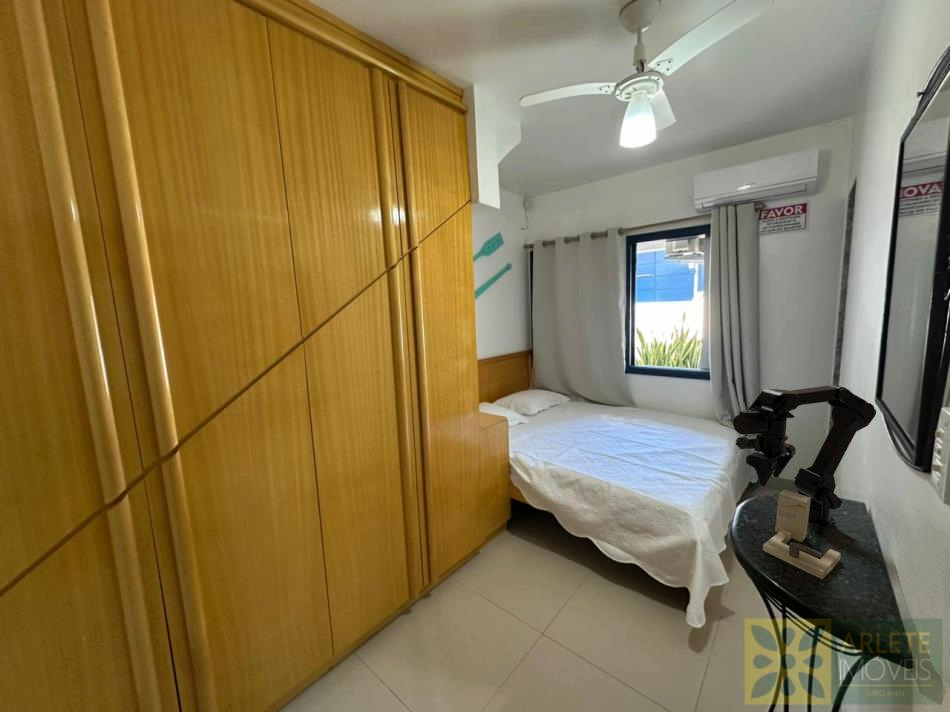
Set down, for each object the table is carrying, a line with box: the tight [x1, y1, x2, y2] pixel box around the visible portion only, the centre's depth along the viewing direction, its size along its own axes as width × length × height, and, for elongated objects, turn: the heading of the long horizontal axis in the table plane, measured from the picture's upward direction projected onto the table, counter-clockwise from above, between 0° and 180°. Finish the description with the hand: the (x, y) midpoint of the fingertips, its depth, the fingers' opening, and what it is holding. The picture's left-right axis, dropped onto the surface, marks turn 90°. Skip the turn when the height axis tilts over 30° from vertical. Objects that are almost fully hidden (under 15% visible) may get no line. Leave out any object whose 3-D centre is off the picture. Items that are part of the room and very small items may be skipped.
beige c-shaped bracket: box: [762, 529, 841, 580], centre depth 93 cm, size 12×12×6 cm
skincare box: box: [774, 488, 811, 543], centre depth 101 cm, size 6×4×12 cm
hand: (769, 481), depth 107 cm, fingers open, 9 cm apart
